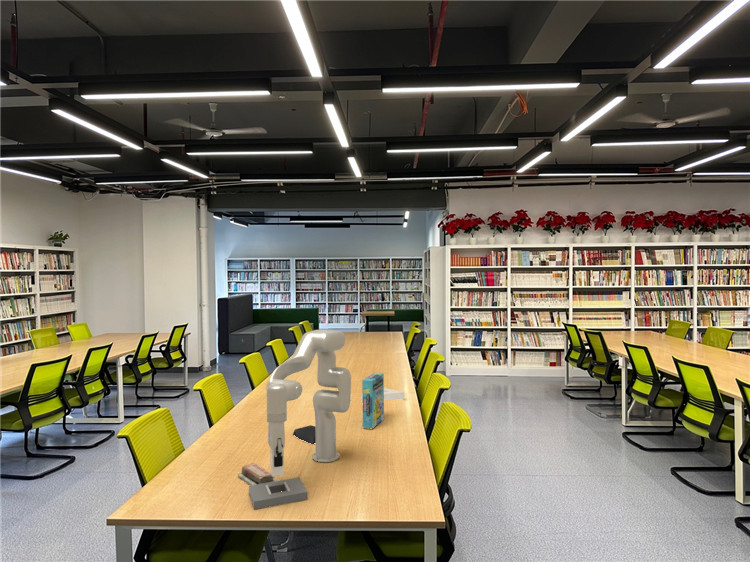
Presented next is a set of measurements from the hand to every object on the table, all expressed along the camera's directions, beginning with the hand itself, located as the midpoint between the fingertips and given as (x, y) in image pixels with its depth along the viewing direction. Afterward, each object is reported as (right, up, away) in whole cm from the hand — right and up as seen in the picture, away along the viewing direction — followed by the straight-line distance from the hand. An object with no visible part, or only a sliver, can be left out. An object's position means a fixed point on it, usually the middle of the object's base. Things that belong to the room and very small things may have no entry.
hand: (277, 463), depth 184 cm
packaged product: (-11, -13, +15) cm, 23 cm away
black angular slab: (+4, -12, +66) cm, 68 cm away
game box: (+37, -11, +88) cm, 96 cm away
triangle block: (+38, -11, +136) cm, 142 cm away
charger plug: (0, -4, 0) cm, 4 cm away
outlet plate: (0, -13, 0) cm, 13 cm away
